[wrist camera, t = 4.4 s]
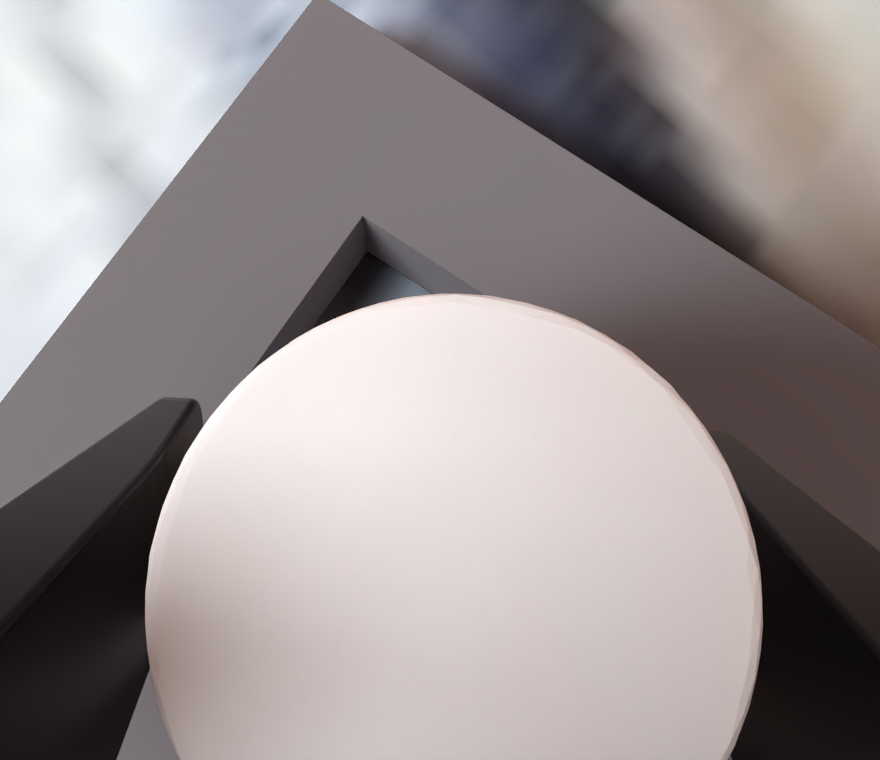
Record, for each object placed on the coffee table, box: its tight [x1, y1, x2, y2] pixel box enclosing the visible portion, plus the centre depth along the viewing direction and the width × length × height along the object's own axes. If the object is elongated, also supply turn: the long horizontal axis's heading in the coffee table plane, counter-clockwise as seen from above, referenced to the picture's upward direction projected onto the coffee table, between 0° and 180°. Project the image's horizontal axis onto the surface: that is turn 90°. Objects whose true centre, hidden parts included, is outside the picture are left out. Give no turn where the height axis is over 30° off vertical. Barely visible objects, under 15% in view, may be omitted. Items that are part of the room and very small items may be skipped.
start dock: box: [0, 0, 880, 760], centre depth 15 cm, size 15×15×2 cm
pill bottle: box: [145, 293, 763, 760], centre depth 11 cm, size 6×6×10 cm
